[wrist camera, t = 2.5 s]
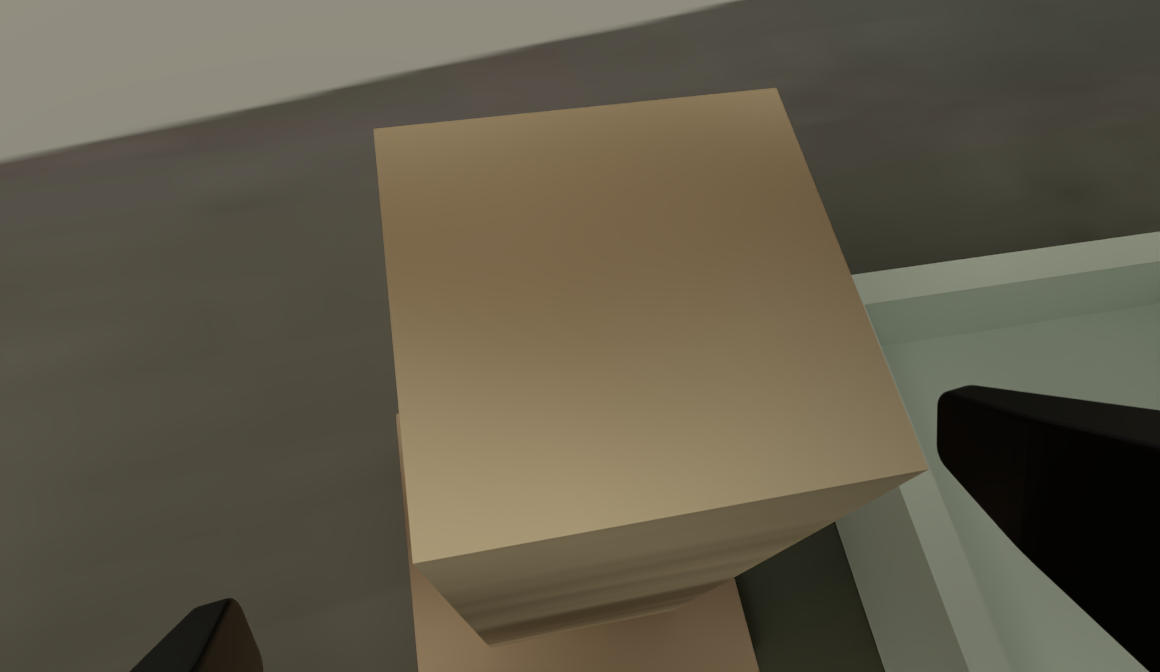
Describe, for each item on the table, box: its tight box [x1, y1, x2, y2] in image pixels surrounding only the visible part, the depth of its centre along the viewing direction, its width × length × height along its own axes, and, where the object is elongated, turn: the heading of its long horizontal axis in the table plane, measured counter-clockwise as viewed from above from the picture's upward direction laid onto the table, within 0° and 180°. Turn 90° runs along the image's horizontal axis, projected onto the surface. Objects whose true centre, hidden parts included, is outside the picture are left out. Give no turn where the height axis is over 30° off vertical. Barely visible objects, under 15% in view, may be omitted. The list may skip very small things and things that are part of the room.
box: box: [835, 232, 1160, 672], centre depth 17 cm, size 13×13×4 cm
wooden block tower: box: [374, 88, 929, 672], centre depth 12 cm, size 7×7×12 cm
